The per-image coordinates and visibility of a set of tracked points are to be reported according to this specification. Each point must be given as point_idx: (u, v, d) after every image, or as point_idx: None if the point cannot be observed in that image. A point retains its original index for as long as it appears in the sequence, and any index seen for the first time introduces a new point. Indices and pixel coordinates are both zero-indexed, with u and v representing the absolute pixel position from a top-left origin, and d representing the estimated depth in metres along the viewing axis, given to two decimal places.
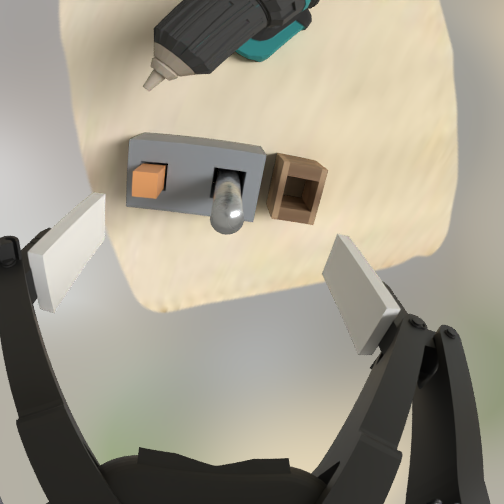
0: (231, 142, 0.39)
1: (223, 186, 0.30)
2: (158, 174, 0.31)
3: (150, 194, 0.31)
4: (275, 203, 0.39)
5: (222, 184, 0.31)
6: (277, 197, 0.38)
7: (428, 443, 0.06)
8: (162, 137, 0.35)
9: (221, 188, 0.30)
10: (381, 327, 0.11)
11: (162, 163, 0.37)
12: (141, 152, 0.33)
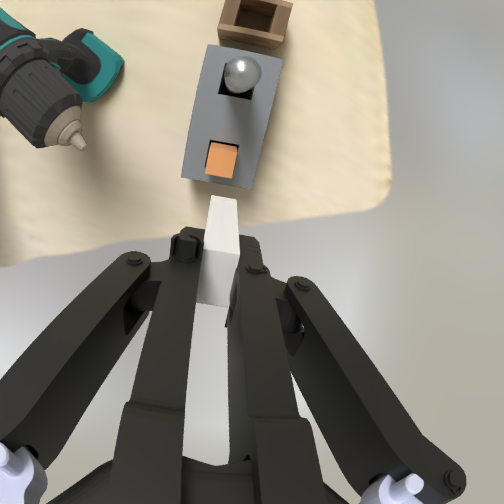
0: None
1: None
2: (211, 147, 0.30)
3: (231, 158, 0.31)
4: (265, 37, 0.28)
5: None
6: (258, 34, 0.28)
7: (335, 417, 0.07)
8: None
9: None
10: (224, 274, 0.12)
11: None
12: (195, 166, 0.34)
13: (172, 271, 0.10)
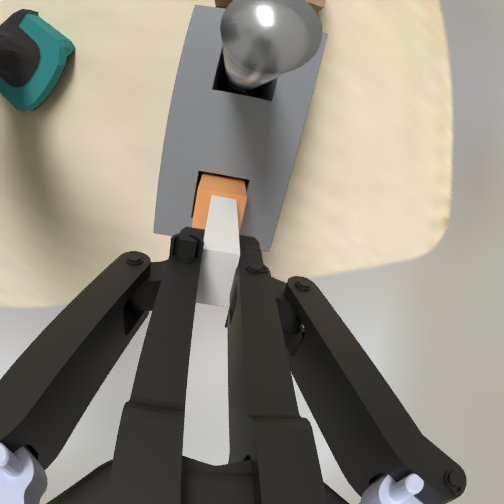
0: None
1: (224, 60, 0.11)
2: (201, 188, 0.17)
3: (237, 207, 0.18)
4: None
5: (225, 65, 0.12)
6: None
7: (335, 417, 0.07)
8: None
9: (225, 63, 0.11)
10: (224, 274, 0.12)
11: None
12: (176, 215, 0.21)
13: (172, 271, 0.10)
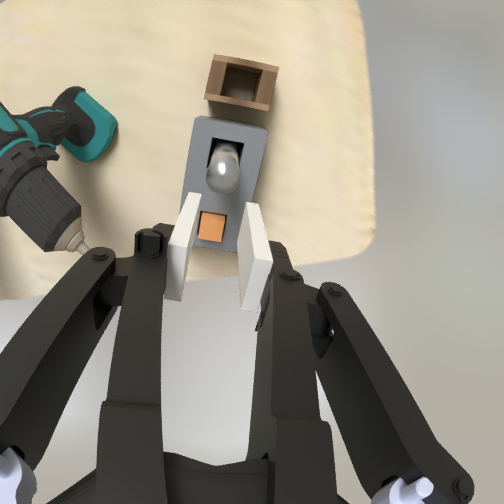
0: None
1: None
2: (203, 217, 0.37)
3: (220, 226, 0.37)
4: (251, 106, 0.33)
5: None
6: (244, 104, 0.32)
7: (355, 419, 0.07)
8: None
9: None
10: (256, 280, 0.12)
11: None
12: None
13: (137, 267, 0.09)
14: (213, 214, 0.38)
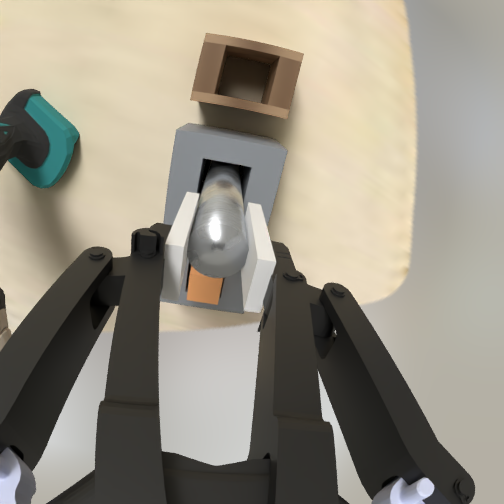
0: None
1: None
2: (192, 272, 0.26)
3: (216, 285, 0.27)
4: (261, 111, 0.22)
5: None
6: (251, 108, 0.22)
7: (357, 419, 0.07)
8: None
9: None
10: (259, 281, 0.12)
11: None
12: None
13: (134, 267, 0.09)
14: None
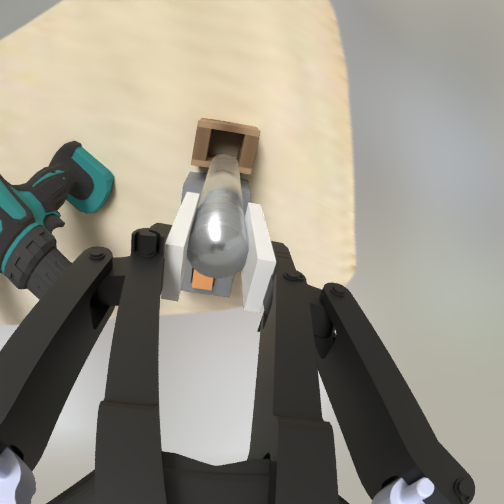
0: None
1: None
2: (195, 270, 0.42)
3: None
4: None
5: None
6: None
7: (357, 419, 0.07)
8: None
9: None
10: (259, 281, 0.12)
11: None
12: (183, 281, 0.44)
13: (134, 267, 0.09)
14: None
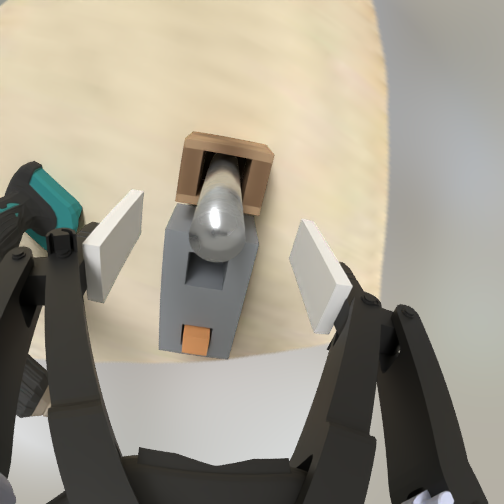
0: None
1: None
2: (185, 333, 0.32)
3: (204, 343, 0.32)
4: None
5: None
6: None
7: (402, 430, 0.07)
8: None
9: None
10: (334, 304, 0.12)
11: None
12: (171, 342, 0.34)
13: (53, 269, 0.08)
14: (197, 327, 0.33)
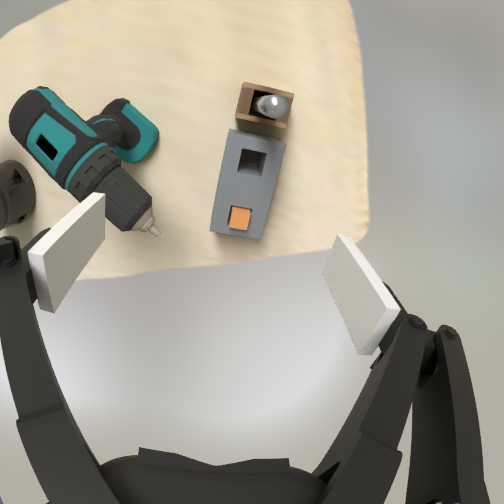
0: (224, 152, 0.50)
1: (259, 107, 0.36)
2: (233, 210, 0.47)
3: (247, 217, 0.48)
4: (272, 124, 0.43)
5: (259, 108, 0.37)
6: (266, 123, 0.43)
7: (428, 443, 0.06)
8: None
9: (260, 109, 0.35)
10: (381, 327, 0.11)
11: None
12: (220, 223, 0.50)
13: (1, 279, 0.07)
14: (241, 208, 0.49)
